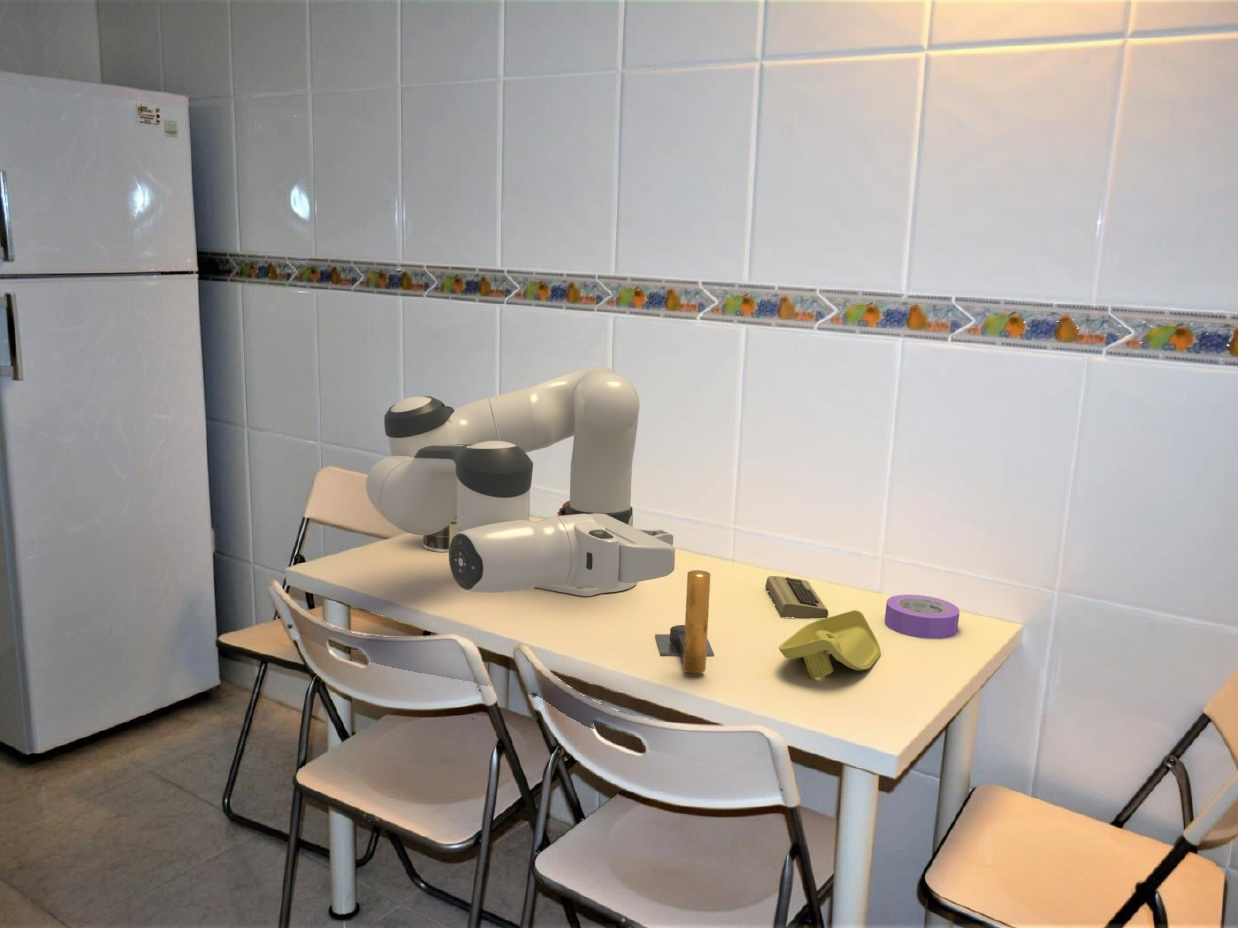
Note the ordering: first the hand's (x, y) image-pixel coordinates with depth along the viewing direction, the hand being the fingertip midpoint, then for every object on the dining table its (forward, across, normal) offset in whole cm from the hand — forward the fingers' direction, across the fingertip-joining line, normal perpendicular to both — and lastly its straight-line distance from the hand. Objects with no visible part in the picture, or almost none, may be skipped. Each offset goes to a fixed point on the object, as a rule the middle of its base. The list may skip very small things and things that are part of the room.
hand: (667, 537), depth 139 cm
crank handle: (+8, -6, -20) cm, 23 cm away
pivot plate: (+10, -11, -21) cm, 26 cm away
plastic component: (+26, +4, -22) cm, 34 cm away
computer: (+40, -20, -22) cm, 50 cm away
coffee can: (-4, -78, -21) cm, 81 cm away
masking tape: (+52, -2, -22) cm, 56 cm away
